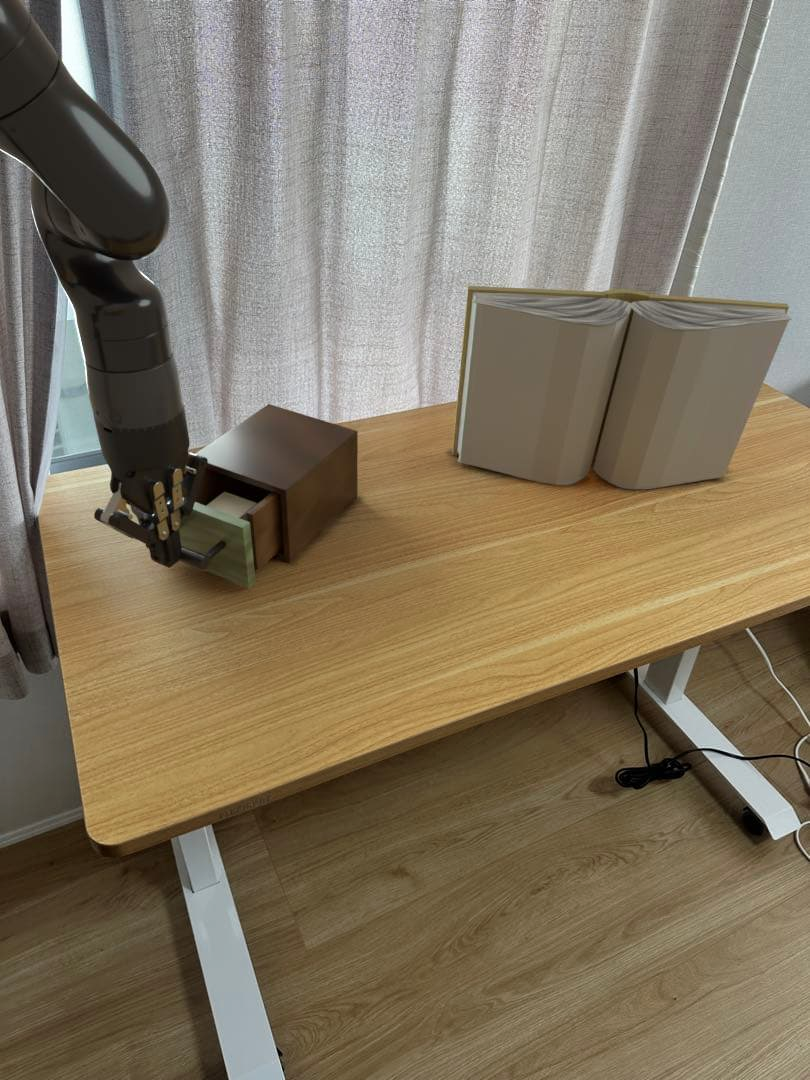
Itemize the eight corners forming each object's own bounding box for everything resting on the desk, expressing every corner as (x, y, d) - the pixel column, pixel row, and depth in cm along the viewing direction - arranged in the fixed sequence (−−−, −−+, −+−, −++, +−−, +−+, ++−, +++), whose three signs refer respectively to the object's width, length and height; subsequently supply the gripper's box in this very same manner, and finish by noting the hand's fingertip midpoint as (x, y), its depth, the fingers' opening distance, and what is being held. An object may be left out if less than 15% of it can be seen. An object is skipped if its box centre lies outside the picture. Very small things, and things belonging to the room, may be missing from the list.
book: (719, 462, 109) (785, 297, 92) (732, 500, 104) (805, 333, 87) (452, 447, 110) (467, 280, 93) (451, 485, 105) (467, 315, 87)
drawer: (223, 612, 81) (215, 551, 76) (136, 575, 85) (123, 515, 80) (319, 523, 94) (317, 466, 89) (239, 494, 98) (234, 438, 93)
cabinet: (290, 562, 89) (285, 490, 83) (199, 528, 93) (189, 457, 88) (357, 499, 99) (357, 430, 94) (273, 470, 104) (268, 403, 98)
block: (235, 556, 86) (232, 523, 84) (203, 543, 88) (198, 511, 85) (260, 535, 89) (257, 502, 87) (228, 523, 91) (224, 491, 88)
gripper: (157, 365, 75) (182, 516, 85) (45, 425, 65) (89, 587, 76) (222, 384, 72) (240, 538, 83) (115, 450, 63) (150, 614, 73)
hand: (167, 561), depth 79 cm, fingers closed
